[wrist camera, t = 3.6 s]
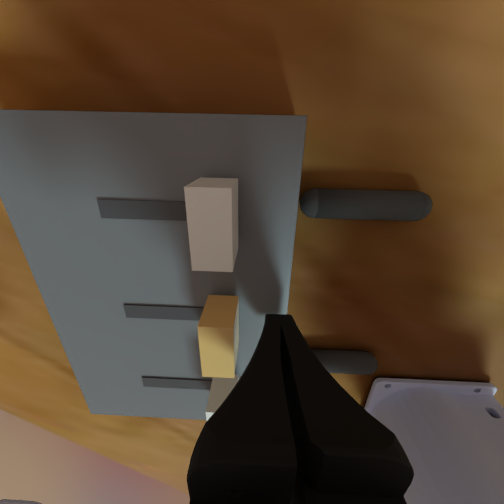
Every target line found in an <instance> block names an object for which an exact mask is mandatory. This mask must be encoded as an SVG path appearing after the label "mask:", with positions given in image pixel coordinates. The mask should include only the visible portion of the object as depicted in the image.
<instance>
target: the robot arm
mask: <svg viewBox="0 0 504 504" xmlns="http://www.w3.org/2000/svg"><path fill="white" fill-rule="evenodd" d="M496 391H497V388H496V387H495V386H494V385H493V384H492V383H482V382H461V381H440V380H419V379H399V378H376V379H375V380H374V382H373V384H372V387H371V390H370V393H369V396H368V399H367V402H366V405H365V408H363V407H362V406H361V405H359V404H358V403H357V402H356V401H355V400H354V399H353V398H352V397H351V396H350V395H349V394H348V393H347V392H346V391H345V390H344V389H343V388H342V387H341V386H340V385H339V384H338V382H337V381H336V380H335V379H334V378H333V377H332V376H331V375H330V373H329V372H328V371H327V370H326V369H325V367H324V366H323V365H322V364H321V362H320V361H319V360H318V358H317V357H316V355H315V354H314V353H313V351H312V350H311V348H310V347H309V345H308V344H307V342H306V341H305V339H304V337H303V336H302V334H301V332H300V331H299V329H298V327H297V325H296V323H295V321H294V319H293V317H292V316H291V315H287V314H266V315H265V323H264V327H263V331H262V334H261V337H260V339H259V342H258V345H257V347H256V349H255V351H254V354H253V356H252V358H251V360H250V362H249V364H248V365H247V367H246V369H245V371H244V372H243V374H242V376H241V377H240V379H239V380H238V382H237V384H236V385H235V387H234V388H233V389H232V391H231V392H230V393H229V395H228V396H227V397H226V399H225V400H224V402H223V403H222V404H221V405H220V407H219V408H218V409H217V410H216V411H215V412H214V414H213V415H212V416H211V417H210V418H209V419H208V421H207V422H206V423H205V425H204V427H203V429H202V431H201V433H200V436H199V438H198V440H197V442H196V445H195V447H194V450H193V453H192V456H191V460H190V465H189V469H188V474H187V484H188V490H189V495H190V504H504V408H503V407H502V406H501V404H500V403H499V402H498V401H497V400H496V399H495V398H494V397H493V396H494V394H495V393H496ZM0 504H41V503H38V502H34V501H24V500H23V501H22V500H7V499H2V500H0Z"/></svg>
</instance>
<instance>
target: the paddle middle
mask: <svg viewBox="0 0 504 504" xmlns="http://www.w3.org/2000/svg"><path fill="white" fill-rule="evenodd" d="M197 328H198V339H199V349H200V359H201V370H202V377H220V378H234V377H235V368H236V360H237V352H238V343H239V296H227V295H208V298H207V300H206V303H205V306H204V309H203V312H202V315H201V317H200V320H199V323H198V326H197Z"/></svg>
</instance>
